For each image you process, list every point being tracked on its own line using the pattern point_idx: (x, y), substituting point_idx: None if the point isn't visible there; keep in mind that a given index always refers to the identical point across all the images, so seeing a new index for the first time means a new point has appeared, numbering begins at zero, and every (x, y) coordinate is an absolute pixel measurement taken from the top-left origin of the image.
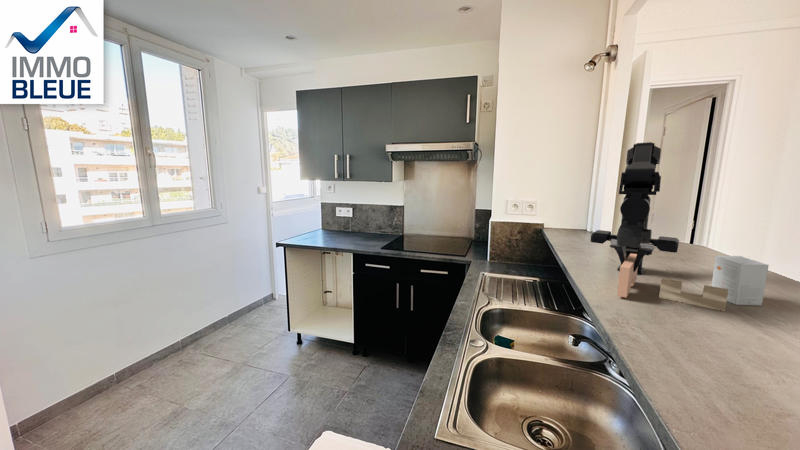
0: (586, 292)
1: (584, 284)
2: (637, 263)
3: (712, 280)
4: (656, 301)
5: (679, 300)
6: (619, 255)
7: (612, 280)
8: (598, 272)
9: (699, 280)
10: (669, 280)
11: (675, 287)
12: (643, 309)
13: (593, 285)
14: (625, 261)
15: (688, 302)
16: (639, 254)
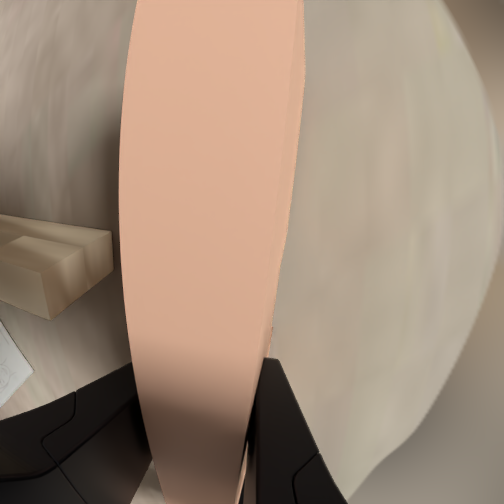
0: (471, 101)
1: (482, 249)
2: (113, 382)
3: (9, 394)
4: (115, 166)
5: (48, 224)
6: (323, 493)
7: (330, 390)
8: (379, 451)
9: None
10: (18, 281)
11: (18, 249)
12: None
13: (440, 258)
14: (236, 391)
15: (28, 220)
16: (16, 453)
